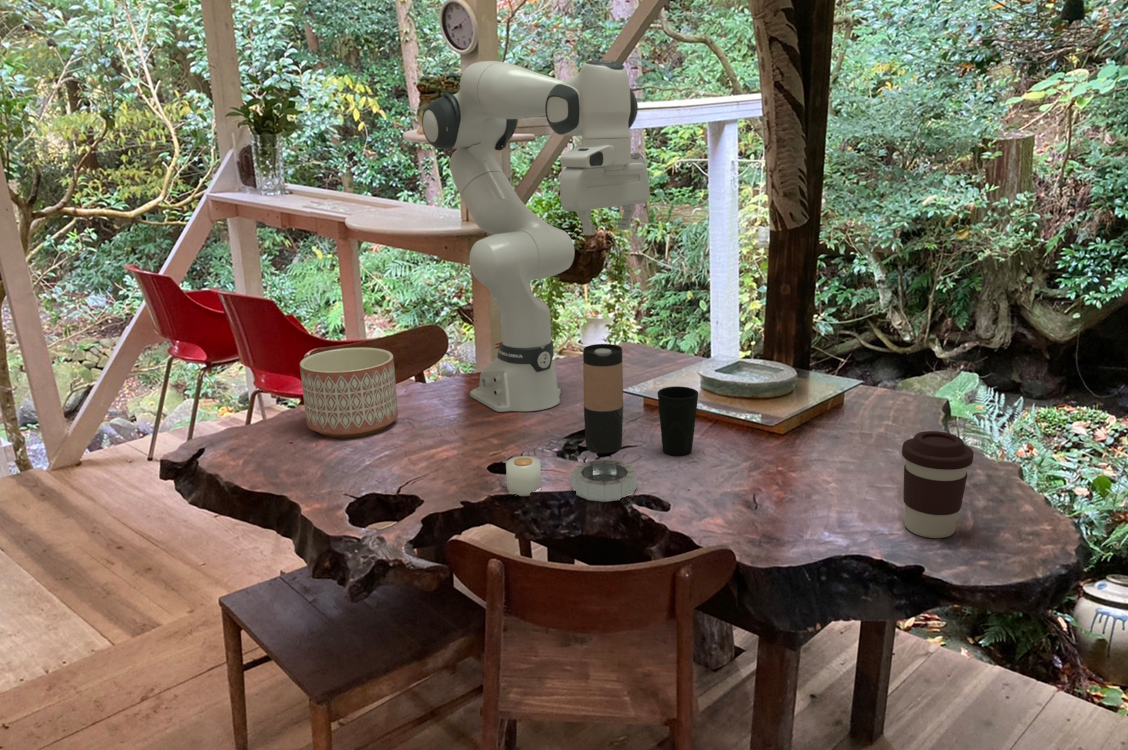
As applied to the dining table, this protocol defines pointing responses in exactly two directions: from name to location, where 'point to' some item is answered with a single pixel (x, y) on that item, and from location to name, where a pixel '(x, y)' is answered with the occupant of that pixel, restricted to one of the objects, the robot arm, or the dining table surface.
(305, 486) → the dining table surface
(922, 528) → the coffee cup
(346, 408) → the planter
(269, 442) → the dining table surface
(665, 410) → the cup
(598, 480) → the stone fire pit ring
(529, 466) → the jar
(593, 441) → the travel mug
